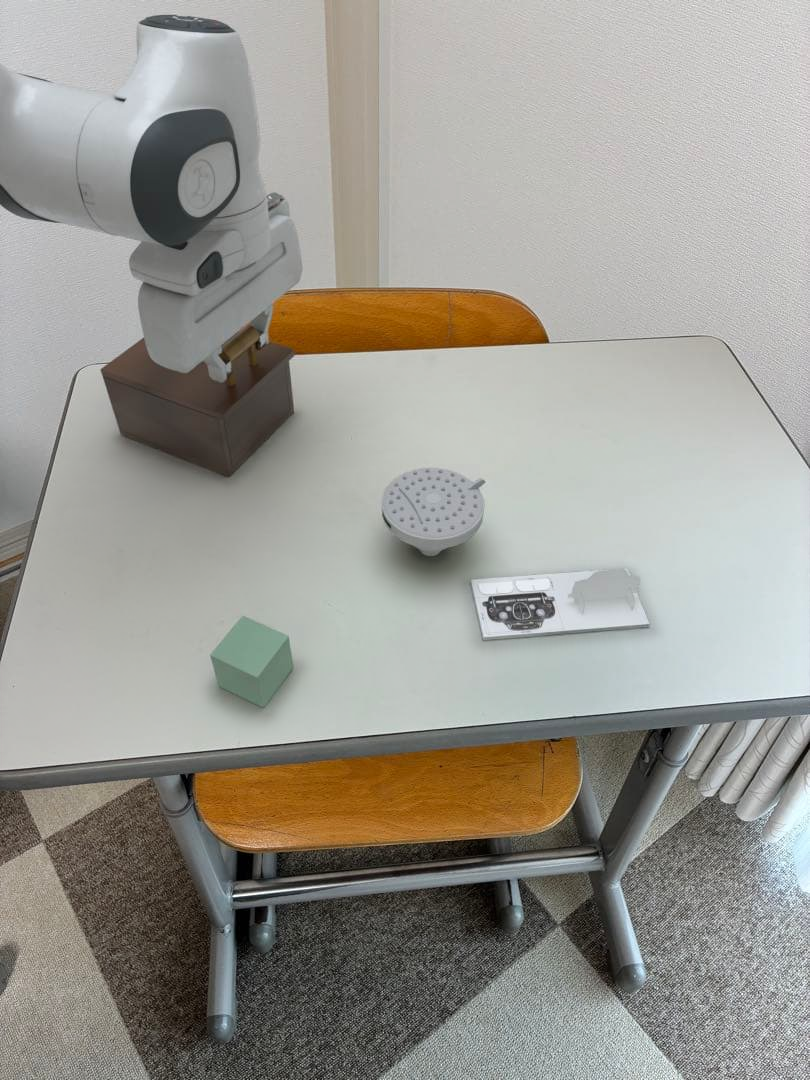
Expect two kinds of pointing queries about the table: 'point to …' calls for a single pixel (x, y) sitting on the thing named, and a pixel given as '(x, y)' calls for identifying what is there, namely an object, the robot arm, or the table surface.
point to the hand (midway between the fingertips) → (240, 361)
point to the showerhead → (433, 508)
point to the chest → (203, 423)
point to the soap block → (252, 661)
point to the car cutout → (558, 603)
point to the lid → (203, 374)
